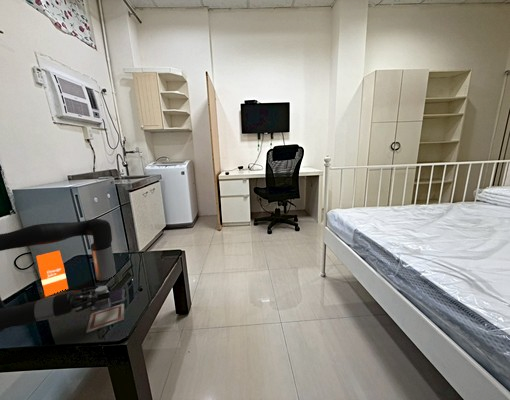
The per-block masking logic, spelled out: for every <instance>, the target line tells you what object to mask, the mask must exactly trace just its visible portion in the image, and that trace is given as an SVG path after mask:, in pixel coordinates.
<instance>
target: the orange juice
mask: <svg viewBox="0 0 510 400" xmlns="http://www.w3.org/2000/svg"><path fill="white" fill-rule="evenodd" d="M36 262H37V266H38V272H39V276H40V279H41V280H40V281H41V284H42V288H43V293H44V298H47V297H50V296H51V295H52V296H53V295H54V293H55V294H57V292H58V293H61V292H63V291H66V290H69V285H68V280H67V276H66V271H65V265H64V262H63V259H62V254H61V250H56V251H51V252H46V253H43V254H39V255H36ZM65 289H66V290H65ZM62 290H63V291H62ZM60 291H61V292H60Z"/></svg>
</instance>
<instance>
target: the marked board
mask: <svg viewBox="0 0 510 400" xmlns="http://www.w3.org/2000/svg"><path fill="white" fill-rule="evenodd" d="M124 321H125V303H121V304H118V305H114V306H112V307H111V306H110V307H109V308H108V309H106V310H103V311H98V310H97V311H95V312H92V313H90V315H89V321H88V323H87V328H86V332H85V333H86V334H87V333H91V332H93V331H97V330H100V329H103V328H106V327H108V326H112V325H114V324H117V323H120V322H124Z"/></svg>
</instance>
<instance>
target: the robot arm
mask: <svg viewBox="0 0 510 400" xmlns="http://www.w3.org/2000/svg"><path fill="white" fill-rule="evenodd" d="M82 236H92V240H93V242H92V243H91V244H90V251H91V255H92V262H93V266H94V271H95V278H96V280H97V281H98V280H99V281H100V282H102V281H107V280H110V279H112V278H114V277H115V276H116V275H117V271H116V263H115V259H114V251H113V247H112V246H113V245H112V242H113V233H112V227H111V224H110V222H109V221H108V220H106V219H98V218H91V219H87V220H82V221H75V222H74V221H73V222H50V223H49V222H48V223H39V224H33V225H30V226H26V227H25V226H24V228H23V227H22V228H20V229H17V230H14V231H10V232H5V233H0V252H2V251H3V252H4V251H7V250H11V249H12V250H13V249H21V248H26V247H33V246H40V245H47V244H48V245H49V244H53V243H58V242H61V241H64V240H68V239H70V238H73V237H82ZM115 274H116V275H115ZM114 275H115V276H114ZM113 276H114V277H113ZM111 277H112V278H111ZM109 278H110V279H109ZM106 286H107V285H106ZM98 287H99V286H97V285H94V286H90V287H83V288H81V289H80V292H78V293H75V294H73V293H72V292H71V291H68V292H64V293H59V294H55V295H52V296H51V295H50V296H46V297H44V298H41V299H39V300H34V301H30V302H26V303H23V304H20V305H15V306H14V305H13V306H7V307H6V305H5V303H4V302H3V300H2V298H1V296H0V333H2V332H3V331H4V330H5V329H8V328H13V327H22V326H26V325H29V324H33V323H36V322H40V321H45V320H50V319H54V318H58V317H60V316H61V317H62V316H63V315H67V314H70V313H72V312H73V311H75V313H79V312H81V311H84V310H86V309H90V308H92V306H94V305H96V303H97V302H98V301H100V300H104V299H107V298H110V293H109V292H112V287H111V286H110V285H108V286H107V289H108V291H109V292H107V293H103V294H99V295H98V296H97V295H95V289H96V288H98Z"/></svg>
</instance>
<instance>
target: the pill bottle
mask: <svg viewBox="0 0 510 400" xmlns="http://www.w3.org/2000/svg"><path fill="white" fill-rule="evenodd" d="M107 292H109V291H108V289H107V285H100V286H98V288H96V289H95V293H94V294H95V295H97V296H98V295H99V294H103V293H107ZM111 306H112V305H111V301H110V298H107V299H104V300H100V301H98V302H97V303H96V307H97V309H96V310H97V312H98V311H103V310H106V309H108V308H111Z"/></svg>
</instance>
